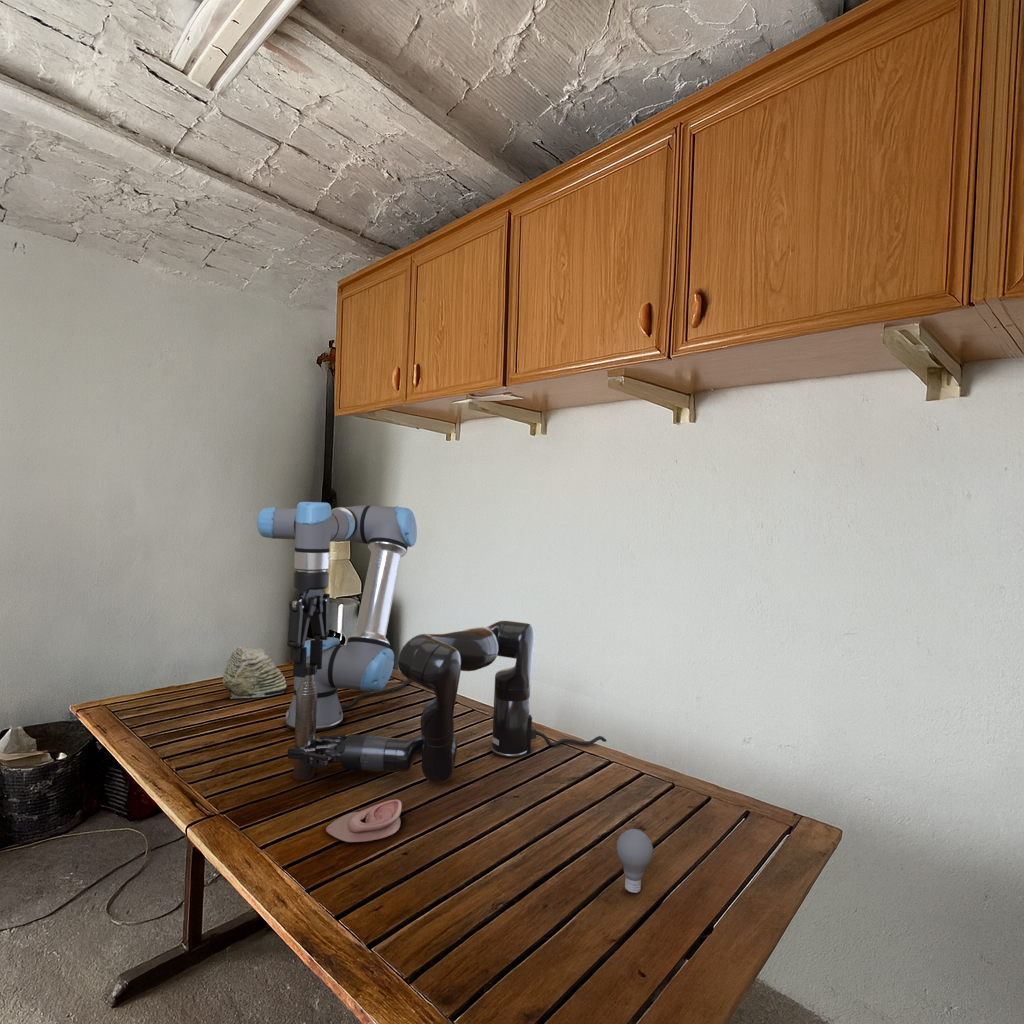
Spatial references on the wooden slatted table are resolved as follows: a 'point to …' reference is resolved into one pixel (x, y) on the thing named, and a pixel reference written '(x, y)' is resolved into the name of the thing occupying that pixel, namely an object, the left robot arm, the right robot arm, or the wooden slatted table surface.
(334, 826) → the anatomical model
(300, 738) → the bottle
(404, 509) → the left robot arm
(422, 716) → the right robot arm
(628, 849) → the light bulb
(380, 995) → the wooden slatted table surface
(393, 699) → the wooden slatted table surface
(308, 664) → the cap
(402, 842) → the wooden slatted table surface
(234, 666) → the fossil
